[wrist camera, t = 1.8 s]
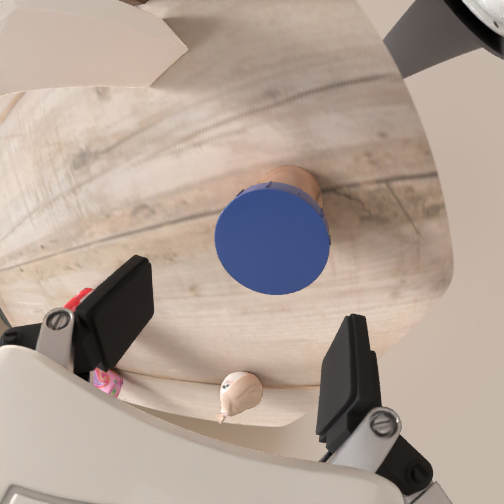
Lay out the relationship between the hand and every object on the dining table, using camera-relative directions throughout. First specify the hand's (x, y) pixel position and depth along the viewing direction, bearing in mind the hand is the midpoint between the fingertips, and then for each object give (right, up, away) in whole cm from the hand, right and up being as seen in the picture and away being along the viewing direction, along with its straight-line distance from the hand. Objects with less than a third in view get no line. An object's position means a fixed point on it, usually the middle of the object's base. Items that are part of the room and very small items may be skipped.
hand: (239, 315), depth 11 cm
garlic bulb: (0, -16, +28) cm, 32 cm away
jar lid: (+2, +3, +5) cm, 6 cm away
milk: (-9, +23, +10) cm, 27 cm away
